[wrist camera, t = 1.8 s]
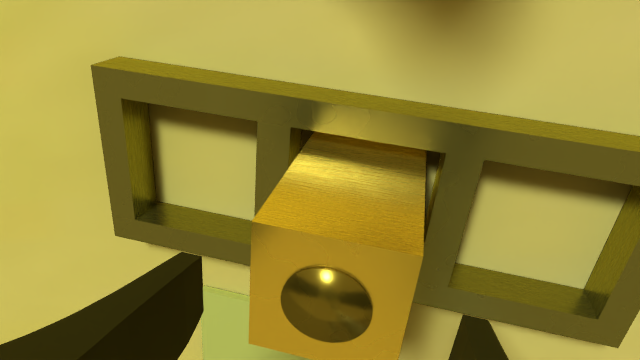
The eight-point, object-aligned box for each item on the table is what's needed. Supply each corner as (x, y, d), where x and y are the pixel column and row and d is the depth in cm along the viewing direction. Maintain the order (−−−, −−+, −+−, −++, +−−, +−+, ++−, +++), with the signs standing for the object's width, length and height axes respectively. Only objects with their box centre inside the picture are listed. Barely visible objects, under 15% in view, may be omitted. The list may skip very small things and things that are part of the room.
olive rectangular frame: (691, 143, 15) (721, 164, 14) (602, 316, 19) (618, 348, 17) (119, 56, 19) (90, 65, 17) (137, 216, 22) (115, 235, 21)
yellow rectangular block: (426, 147, 18) (423, 259, 11) (405, 240, 20) (392, 382, 13) (316, 128, 18) (250, 223, 12) (307, 220, 20) (247, 345, 14)
